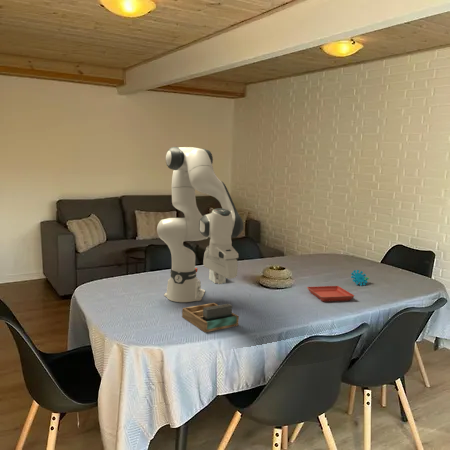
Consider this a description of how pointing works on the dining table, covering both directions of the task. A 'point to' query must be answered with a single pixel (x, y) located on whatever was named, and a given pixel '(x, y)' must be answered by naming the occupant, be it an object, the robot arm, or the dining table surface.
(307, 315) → the dining table surface
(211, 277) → the skincare box
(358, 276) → the gear
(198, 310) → the rack
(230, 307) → the panel
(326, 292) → the plant saucer
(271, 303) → the dining table surface
